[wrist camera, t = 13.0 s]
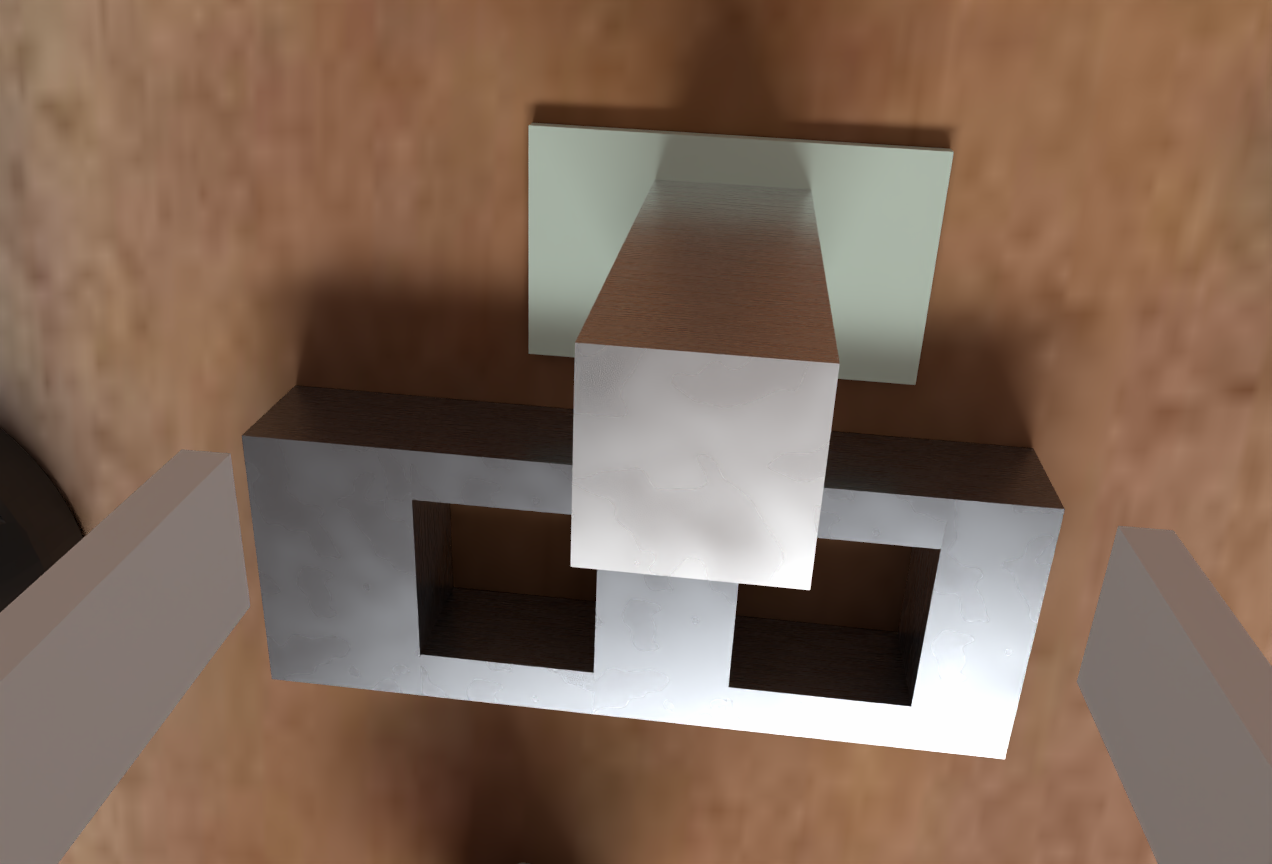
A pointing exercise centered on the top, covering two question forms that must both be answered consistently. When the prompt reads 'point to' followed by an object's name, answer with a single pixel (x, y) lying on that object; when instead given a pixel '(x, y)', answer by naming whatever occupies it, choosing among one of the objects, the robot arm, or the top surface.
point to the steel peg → (707, 391)
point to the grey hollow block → (639, 580)
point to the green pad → (834, 171)
